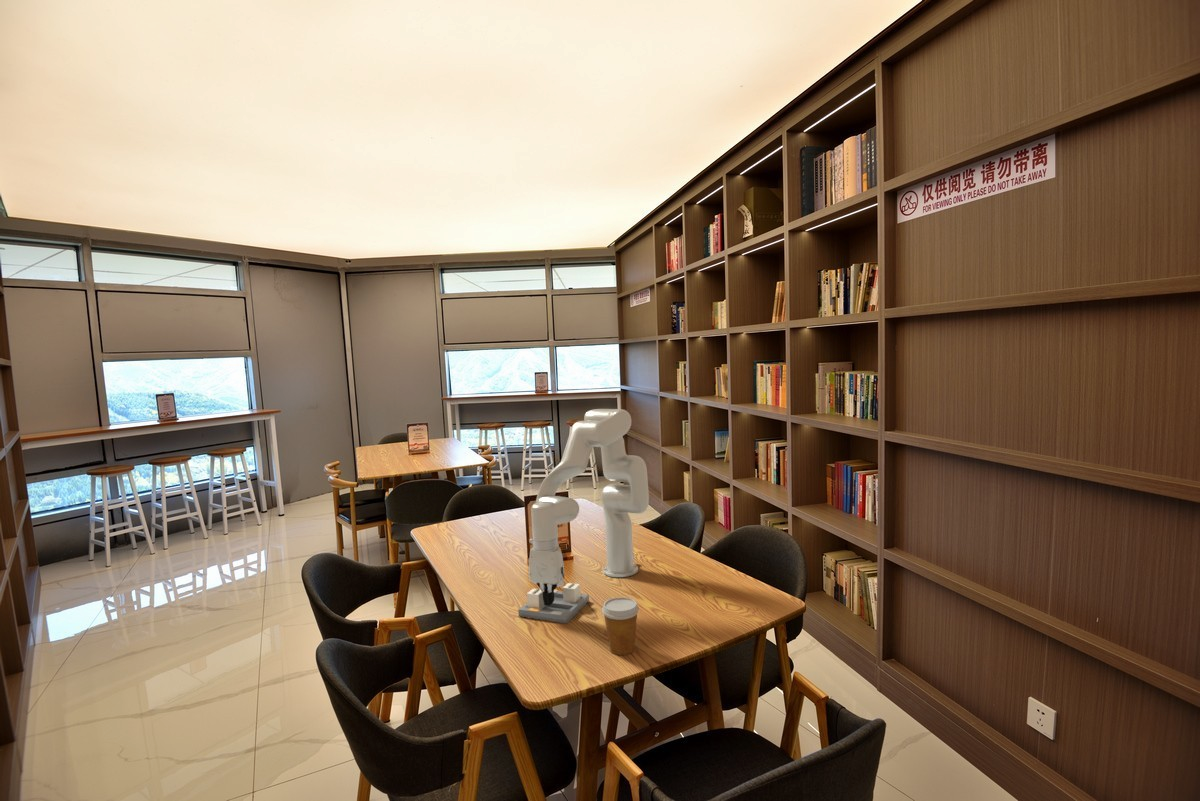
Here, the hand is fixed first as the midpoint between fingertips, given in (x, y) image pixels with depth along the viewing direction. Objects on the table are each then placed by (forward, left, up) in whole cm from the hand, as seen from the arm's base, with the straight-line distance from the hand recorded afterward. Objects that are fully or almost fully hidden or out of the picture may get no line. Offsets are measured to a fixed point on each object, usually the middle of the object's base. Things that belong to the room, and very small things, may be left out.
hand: (548, 603), depth 166 cm
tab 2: (-7, +4, -2) cm, 8 cm away
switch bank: (-4, 0, -3) cm, 5 cm away
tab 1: (0, -4, -2) cm, 5 cm away
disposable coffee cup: (+13, +29, -3) cm, 32 cm away
